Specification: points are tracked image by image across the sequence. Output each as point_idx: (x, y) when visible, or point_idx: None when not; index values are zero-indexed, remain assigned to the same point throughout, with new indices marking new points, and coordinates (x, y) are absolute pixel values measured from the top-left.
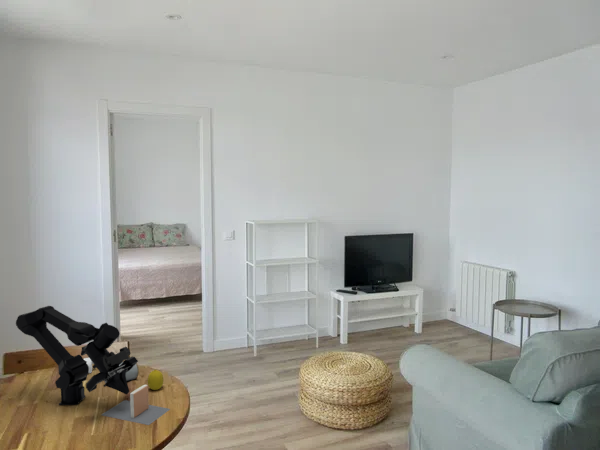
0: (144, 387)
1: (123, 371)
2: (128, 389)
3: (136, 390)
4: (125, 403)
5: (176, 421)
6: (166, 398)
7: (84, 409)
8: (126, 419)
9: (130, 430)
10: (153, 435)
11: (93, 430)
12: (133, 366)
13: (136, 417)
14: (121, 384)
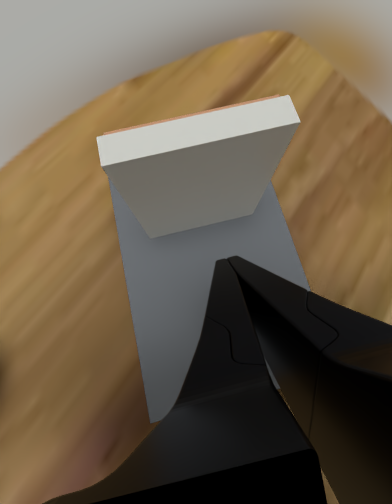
0: (142, 130)
1: (249, 448)
2: (219, 266)
3: (230, 124)
4: (177, 374)
5: (153, 76)
6: (15, 254)
7: None
8: (276, 213)
9: (299, 151)
10: (264, 67)
11: None
12: None
13: None
14: (300, 295)
